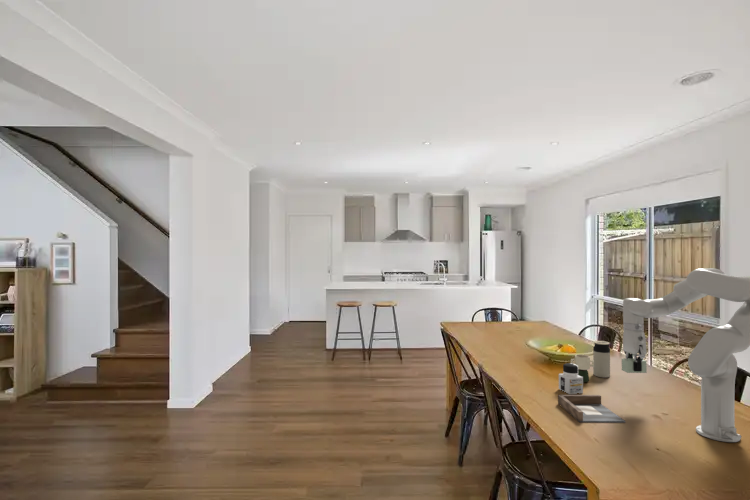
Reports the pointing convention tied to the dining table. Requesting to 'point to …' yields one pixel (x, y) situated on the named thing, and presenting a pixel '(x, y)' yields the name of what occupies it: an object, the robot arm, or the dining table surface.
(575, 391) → the container
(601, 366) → the travel mug
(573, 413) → the shallow tray
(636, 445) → the dining table surface
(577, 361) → the character mug
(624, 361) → the sage block
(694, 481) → the dining table surface
